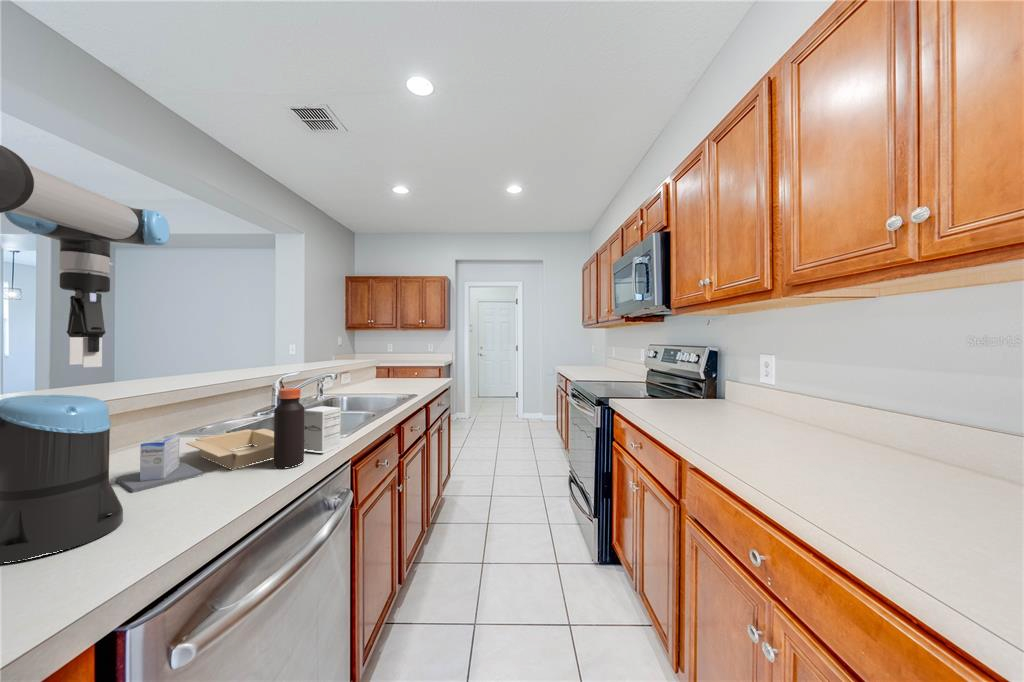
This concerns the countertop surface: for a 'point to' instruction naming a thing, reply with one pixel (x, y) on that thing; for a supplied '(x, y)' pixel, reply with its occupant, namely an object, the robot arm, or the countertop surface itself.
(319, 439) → the supplement box
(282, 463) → the bottle
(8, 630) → the countertop surface
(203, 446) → the carton
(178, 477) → the mat
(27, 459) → the robot arm
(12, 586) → the countertop surface
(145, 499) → the countertop surface
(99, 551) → the countertop surface
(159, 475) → the medicine box
